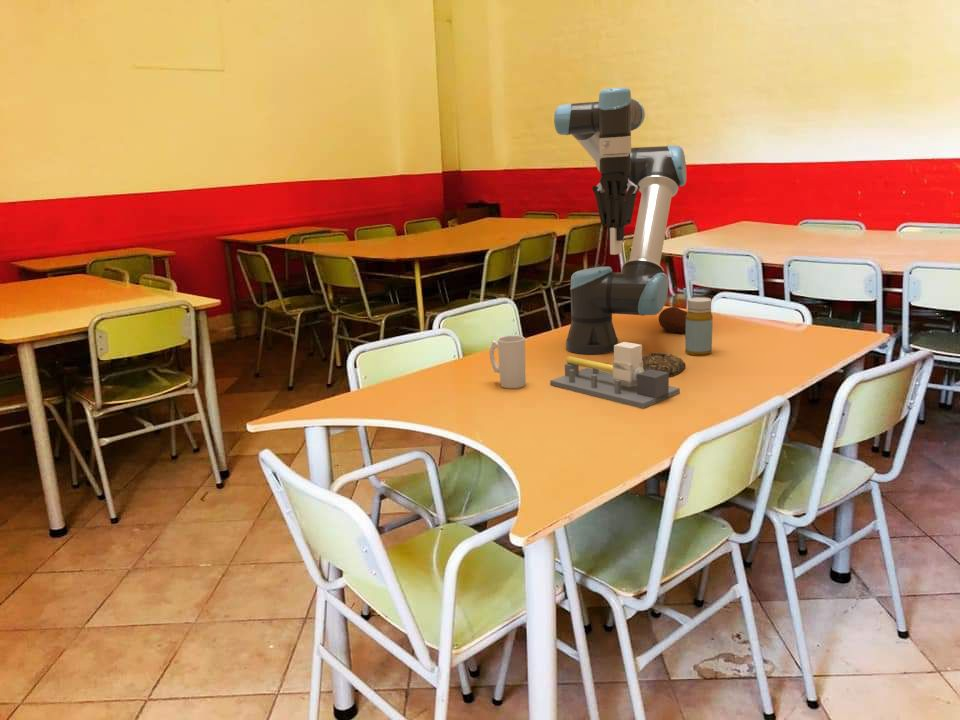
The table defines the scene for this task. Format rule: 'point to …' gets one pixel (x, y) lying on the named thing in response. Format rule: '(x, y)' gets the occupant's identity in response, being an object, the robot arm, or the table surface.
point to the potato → (673, 319)
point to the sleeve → (626, 362)
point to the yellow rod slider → (601, 384)
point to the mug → (510, 361)
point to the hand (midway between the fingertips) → (616, 253)
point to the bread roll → (663, 363)
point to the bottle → (699, 326)
